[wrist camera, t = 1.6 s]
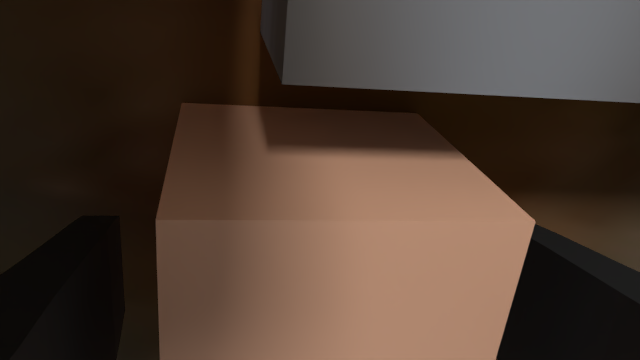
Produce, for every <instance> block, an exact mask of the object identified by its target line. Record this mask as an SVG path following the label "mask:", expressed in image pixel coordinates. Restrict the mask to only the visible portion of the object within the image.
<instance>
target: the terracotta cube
mask: <svg viewBox="0 0 640 360" xmlns="http://www.w3.org/2000/svg"><path fill="white" fill-rule="evenodd" d="M535 222H536V221H535V220H534V219H533V218H531V217H530V216H529V215H528V214H527V213H526V212H525V211H524V210H523V209H522V208H521V207H519V206H518V205H517V204H516V203H515V202H514V201H513V200H512V199H511V198H510V197H508V196H507V195H506V194H505V193H504V192H503V191H502V190H501V189H500V188H499V187H498V186H496V185H495V184H494V183H493V182H492V181H491V180H490V179H489V178H488V177H487V176H485V175H484V174H483V173H482V172H481V171H480V170H479V169H478V168H477V167H476V166H475V165H473V164H472V163H471V162H470V161H469V160H468V159H467V158H466V157H465V156H464V155H463V154H461V153H460V152H459V151H458V150H457V149H456V148H455V147H454V146H453V145H452V144H450V143H449V142H448V141H447V140H446V139H445V138H444V137H443V136H442V135H441V134H440V133H438V132H437V131H436V130H435V129H434V128H433V127H432V126H431V125H430V124H429V123H427V122H426V121H425V120H424V119H423V118H422V117H421V116H420V115H419V114H418V113H401V112H378V111H356V110H333V109H310V108H288V107H265V106H242V105H219V104H197V103H181V108H180V112H179V117H178V121H177V126H176V130H175V135H174V139H173V144H172V148H171V153H170V157H169V162H168V166H167V171H166V175H165V180H164V184H163V189H162V193H161V198H160V202H159V207H158V211H157V216H156V251H157V283H158V315H159V347H160V360H496V356H497V353H498V349H499V346H500V343H501V339H502V336H503V332H504V329H505V325H506V322H507V318H508V315H509V312H510V308H511V305H512V301H513V298H514V294H515V291H516V287H517V284H518V281H519V277H520V274H521V270H522V267H523V263H524V260H525V257H526V253H527V250H528V246H529V243H530V239H531V236H532V232H533V229H534V226H535Z"/></svg>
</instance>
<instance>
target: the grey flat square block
mask: <svg viewBox="0 0 640 360" xmlns="http://www.w3.org/2000/svg"><path fill="white" fill-rule="evenodd" d="M260 32H261V35H262V37H263V40H264V42H265V44H266V47H267V49H268V52H269V54H270V56H271V59H272V61H273V64H274V66H275V69H276V71H277V73H278V76H279V78H280V81H281V83H282V84H285V85H304V86H324V87H343V88H362V89H381V90H400V91H419V92H438V93H458V94H477V95H496V96H515V97H534V98H553V99H572V100H592V101H611V102H630V103H640V0H262V11H261V31H260Z"/></svg>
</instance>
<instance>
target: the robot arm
mask: <svg viewBox="0 0 640 360" xmlns="http://www.w3.org/2000/svg"><path fill="white" fill-rule="evenodd" d="M124 312H125V304H124V288H123V272H122V256H121V240H120V224H119V216H82V217H80V218H78V219H77V220H75V221H74V222H73V223H71V224H70V225H68V226H67V227H66V228H64V229H63V230H62V231H60V232H59V233H58V234H56V235H55V236H54V237H52V238H51V239H50V240H48V241H47V242H46V243H44V244H43V245H42V246H40V247H39V248H38V249H36V250H35V251H33V252H32V253H31V254H29V255H28V256H27V257H25V258H24V259H22V260H21V261H20V262H18V263H17V264H16V265H14V266H13V267H11V268H10V269H9V270H7V271H6V272H4V273H3V274H1V275H0V360H116V358H117V353H118V347H119V342H120V336H121V330H122V324H123V318H124ZM496 358H497V360H640V272H638V271H636V270H633V269H631V268H629V267H627V266H625V265H623V264H620V263H618V262H616V261H614V260H612V259H610V258H608V257H606V256H603V255H601V254H599V253H597V252H595V251H593V250H591V249H589V248H587V247H585V246H582V245H580V244H578V243H576V242H574V241H572V240H570V239H568V238H565V237H563V236H561V235H559V234H557V233H555V232H552V231H550V230H548V229H545V228H543V227H541V226H538V225H536V224H535V226H534V229H533V232H532V236H531V239H530V243H529V246H528V250H527V253H526V257H525V260H524V263H523V267H522V270H521V274H520V277H519V281H518V284H517V287H516V291H515V294H514V298H513V301H512V305H511V308H510V312H509V315H508V318H507V322H506V325H505V329H504V332H503V336H502V339H501V343H500V346H499V349H498V353H497V356H496Z"/></svg>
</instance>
